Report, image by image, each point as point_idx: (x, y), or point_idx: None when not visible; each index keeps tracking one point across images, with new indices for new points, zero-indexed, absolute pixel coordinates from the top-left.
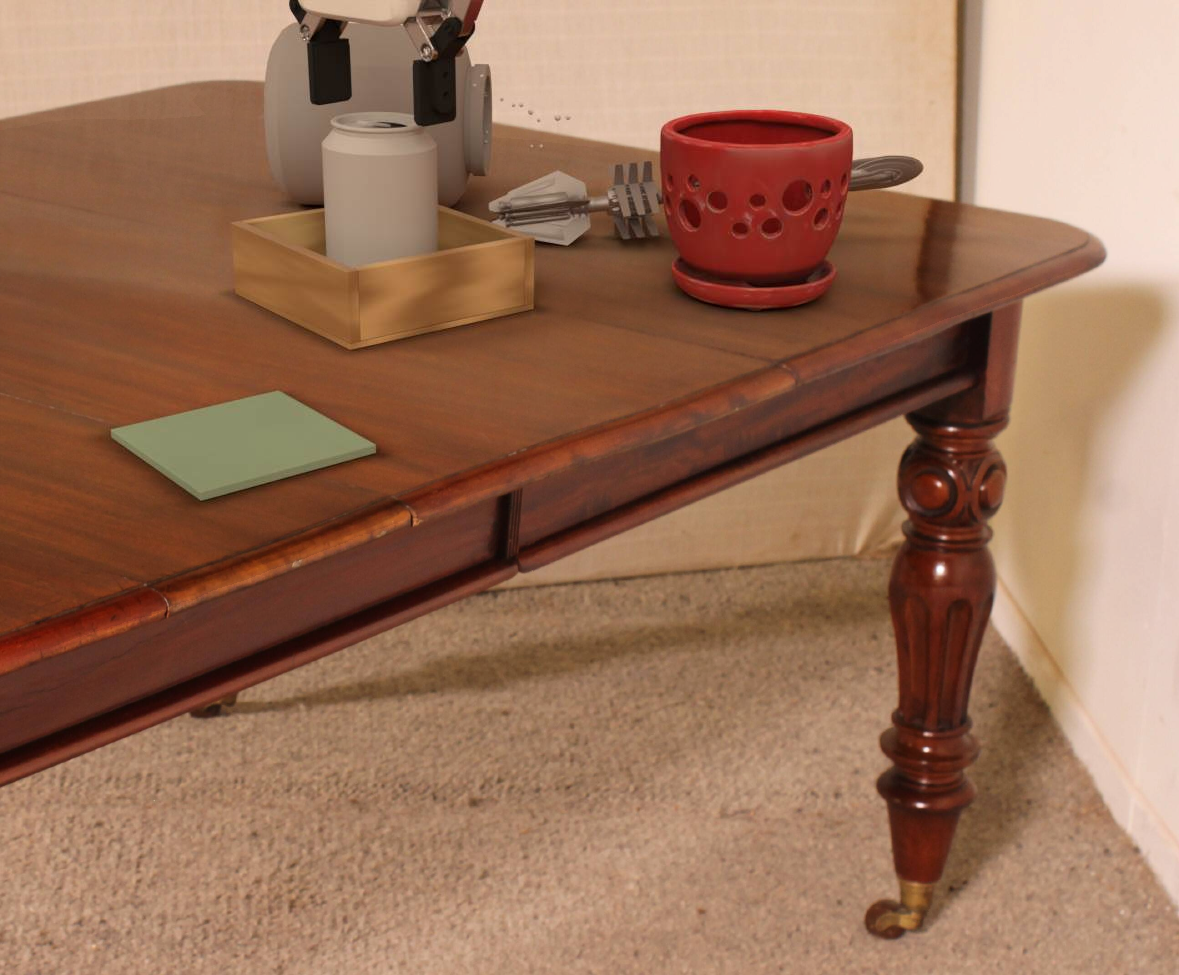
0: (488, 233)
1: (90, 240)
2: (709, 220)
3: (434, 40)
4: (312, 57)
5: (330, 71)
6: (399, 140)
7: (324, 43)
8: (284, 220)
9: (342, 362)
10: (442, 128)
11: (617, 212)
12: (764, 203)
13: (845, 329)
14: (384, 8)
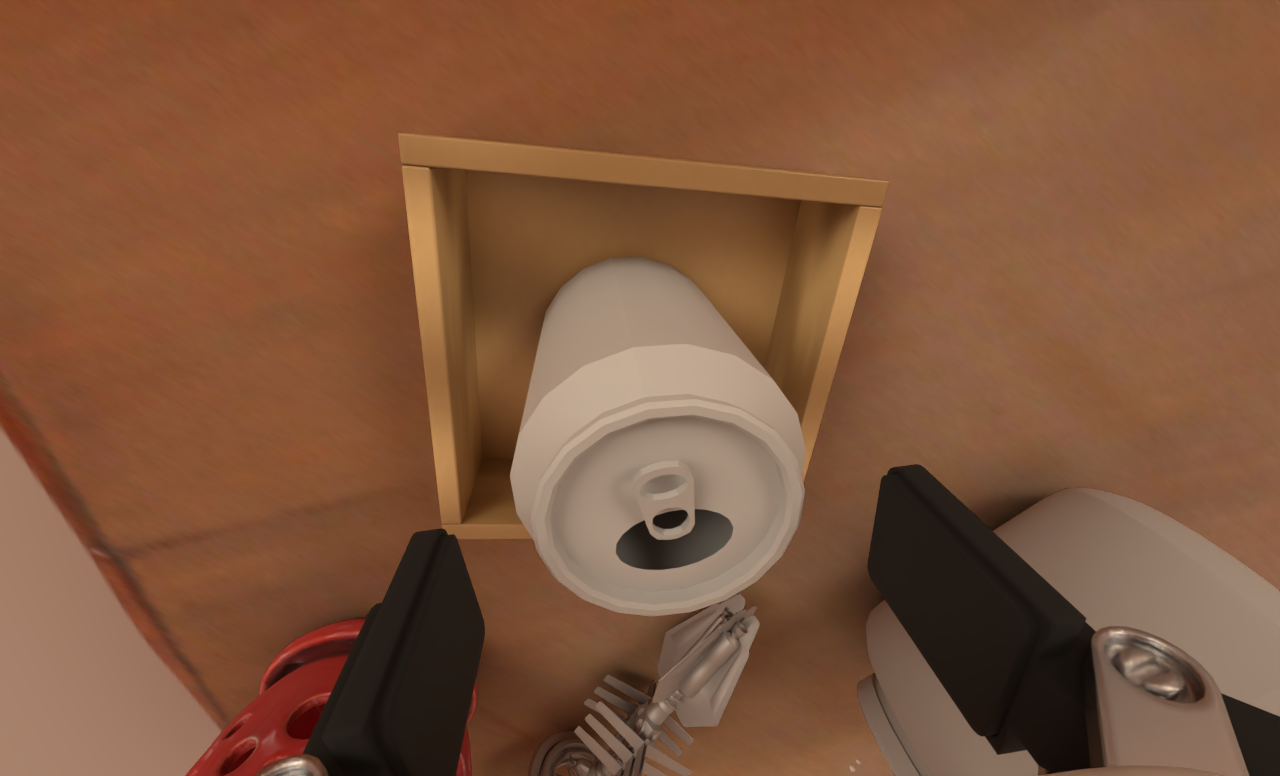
0: None
1: (1237, 160)
2: (271, 719)
3: None
4: (1004, 573)
5: (933, 584)
6: (537, 484)
7: (1025, 666)
8: (832, 292)
9: (393, 81)
10: (908, 705)
11: (639, 708)
12: None
13: (209, 667)
14: None
